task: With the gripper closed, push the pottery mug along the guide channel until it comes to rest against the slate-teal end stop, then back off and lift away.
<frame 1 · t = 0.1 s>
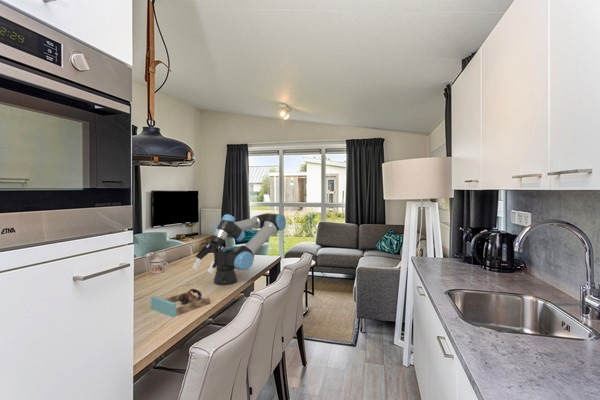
hand: (201, 271, 172), 15 cm above the table, tool tilted 35°, fingers open, 13 cm apart
end stop: (163, 312, 151), on the table
guide channel: (183, 305, 160), on the table
pottery mug: (189, 303, 164), on the table
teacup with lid: (159, 272, 229), on the table
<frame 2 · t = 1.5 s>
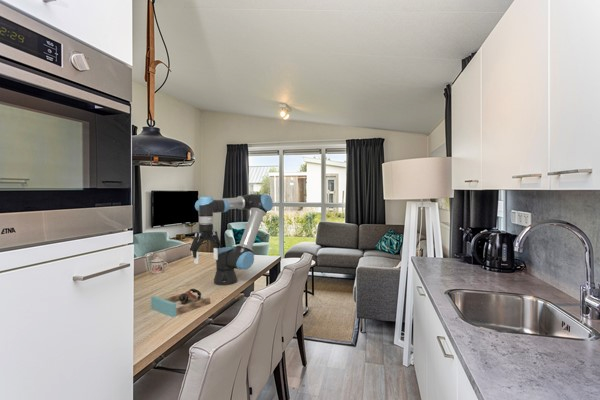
hand: (206, 261, 172), 21 cm above the table, tool pointing down, fingers open, 12 cm apart
nothing on the table moved.
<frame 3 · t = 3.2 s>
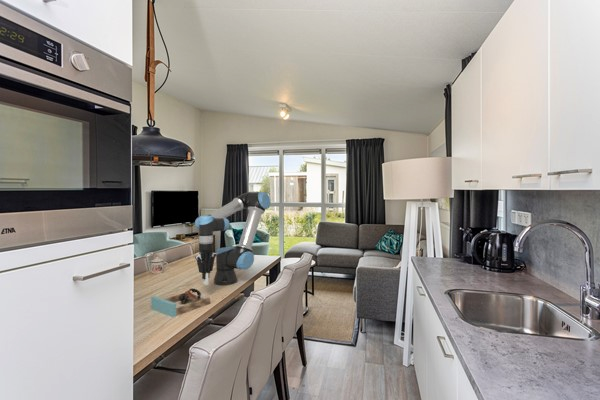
hand: (205, 284, 172), 8 cm above the table, tool pointing down, fingers closed
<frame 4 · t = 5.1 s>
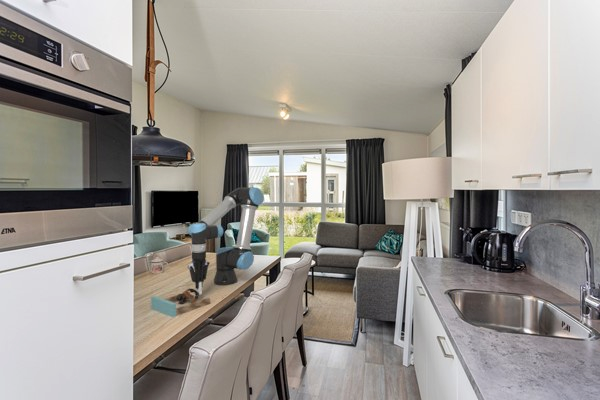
hand: (199, 293, 168), 4 cm above the table, tool pointing down, fingers closed
pottery mug: (186, 303, 164), on the table, touching gripper
everything else where it was.
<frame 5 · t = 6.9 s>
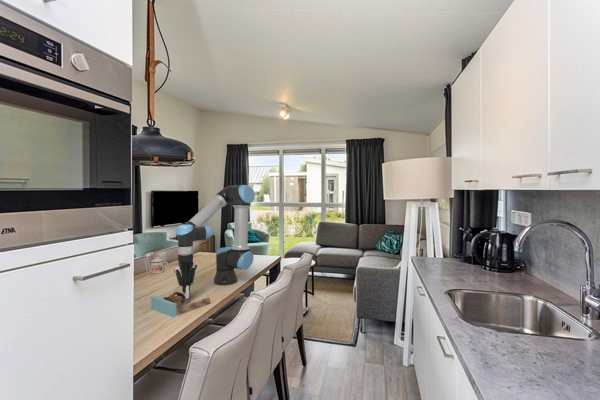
hand: (186, 297, 162), 4 cm above the table, tool pointing down, fingers closed
pottery mug: (172, 307, 158), on the table, touching end stop, gripper
everything else where it was.
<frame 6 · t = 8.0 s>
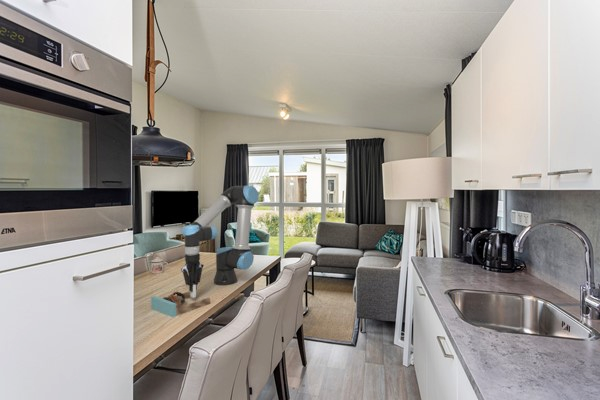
hand: (193, 296, 165), 3 cm above the table, tool pointing down, fingers closed
pottery mug: (172, 307, 158), on the table
everything else where it was.
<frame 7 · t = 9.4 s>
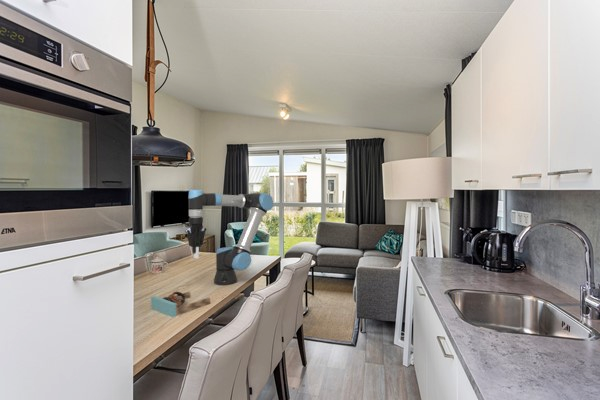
hand: (196, 258, 172), 22 cm above the table, tool pointing down, fingers closed
pottery mug: (172, 307, 159), on the table, touching guide channel
everything else where it was.
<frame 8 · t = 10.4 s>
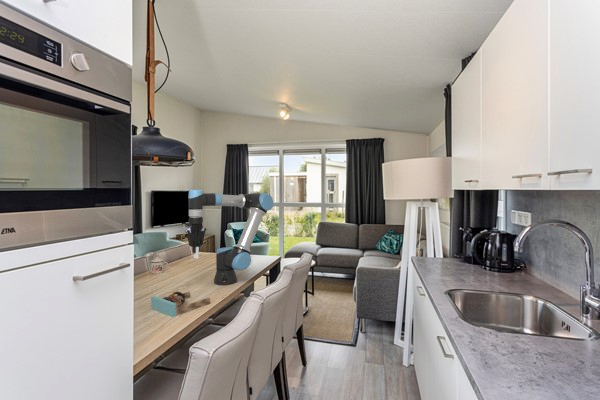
hand: (196, 258, 172), 22 cm above the table, tool pointing down, fingers closed
pottery mug: (173, 307, 159), on the table
everything else where it was.
at the end: pottery mug inside the target area (3.2 cm from its centre), on the table; pottery mug tilted 2°; pottery mug moved 8.4 cm from its start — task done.
